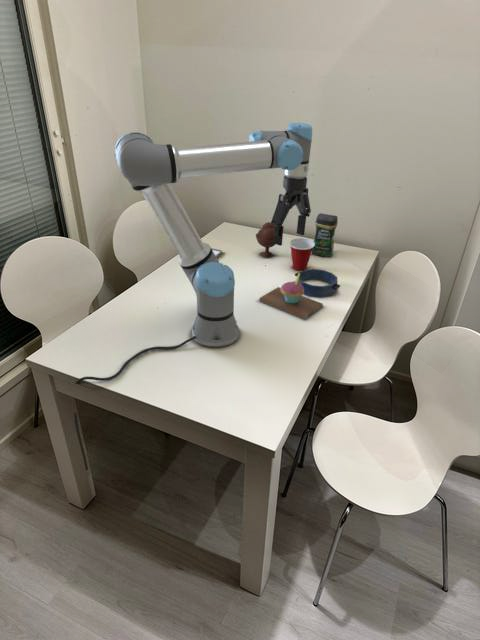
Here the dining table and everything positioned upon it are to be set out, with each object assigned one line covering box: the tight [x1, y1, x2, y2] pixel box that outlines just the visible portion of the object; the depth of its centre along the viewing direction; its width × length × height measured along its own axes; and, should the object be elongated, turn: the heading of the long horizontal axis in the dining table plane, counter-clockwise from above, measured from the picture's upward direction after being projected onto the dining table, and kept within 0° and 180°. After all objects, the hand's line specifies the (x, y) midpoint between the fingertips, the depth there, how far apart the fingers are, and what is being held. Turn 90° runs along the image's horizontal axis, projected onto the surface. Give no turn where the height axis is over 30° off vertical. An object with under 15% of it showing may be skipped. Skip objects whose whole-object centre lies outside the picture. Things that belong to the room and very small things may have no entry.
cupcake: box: [280, 271, 305, 303], centre depth 165 cm, size 9×8×12 cm
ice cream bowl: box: [255, 221, 277, 259], centre depth 204 cm, size 11×11×15 cm
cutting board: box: [259, 286, 324, 320], centre depth 169 cm, size 12×20×2 cm, turn 51°
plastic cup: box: [288, 237, 315, 272], centre depth 194 cm, size 11×11×12 cm
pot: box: [294, 268, 341, 298], centre depth 180 cm, size 16×19×4 cm
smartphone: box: [211, 247, 223, 259], centre depth 204 cm, size 7×1×15 cm
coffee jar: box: [311, 212, 338, 258], centre depth 206 cm, size 10×8×19 cm
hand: (289, 239), depth 156 cm, fingers open, 13 cm apart
